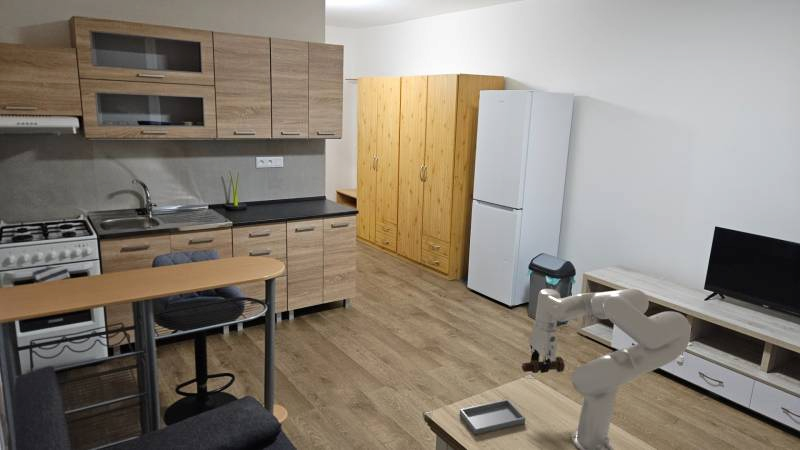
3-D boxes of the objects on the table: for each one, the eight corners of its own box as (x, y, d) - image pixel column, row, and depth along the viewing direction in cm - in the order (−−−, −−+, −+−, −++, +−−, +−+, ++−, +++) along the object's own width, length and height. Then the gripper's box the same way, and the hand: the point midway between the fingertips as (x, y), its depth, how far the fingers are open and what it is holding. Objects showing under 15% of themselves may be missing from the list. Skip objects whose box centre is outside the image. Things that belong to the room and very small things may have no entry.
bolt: (520, 372, 195) (558, 369, 197) (525, 377, 190) (564, 374, 192) (520, 357, 194) (558, 354, 196) (525, 362, 189) (564, 358, 192)
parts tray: (524, 423, 185) (525, 417, 185) (475, 435, 178) (475, 429, 177) (507, 404, 195) (507, 399, 195) (459, 415, 188) (460, 409, 187)
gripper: (569, 332, 182) (562, 378, 187) (540, 311, 197) (534, 354, 202) (551, 335, 179) (544, 382, 184) (523, 314, 195) (517, 357, 200)
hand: (539, 367), depth 193 cm, fingers closed on bolt, 5 cm apart
